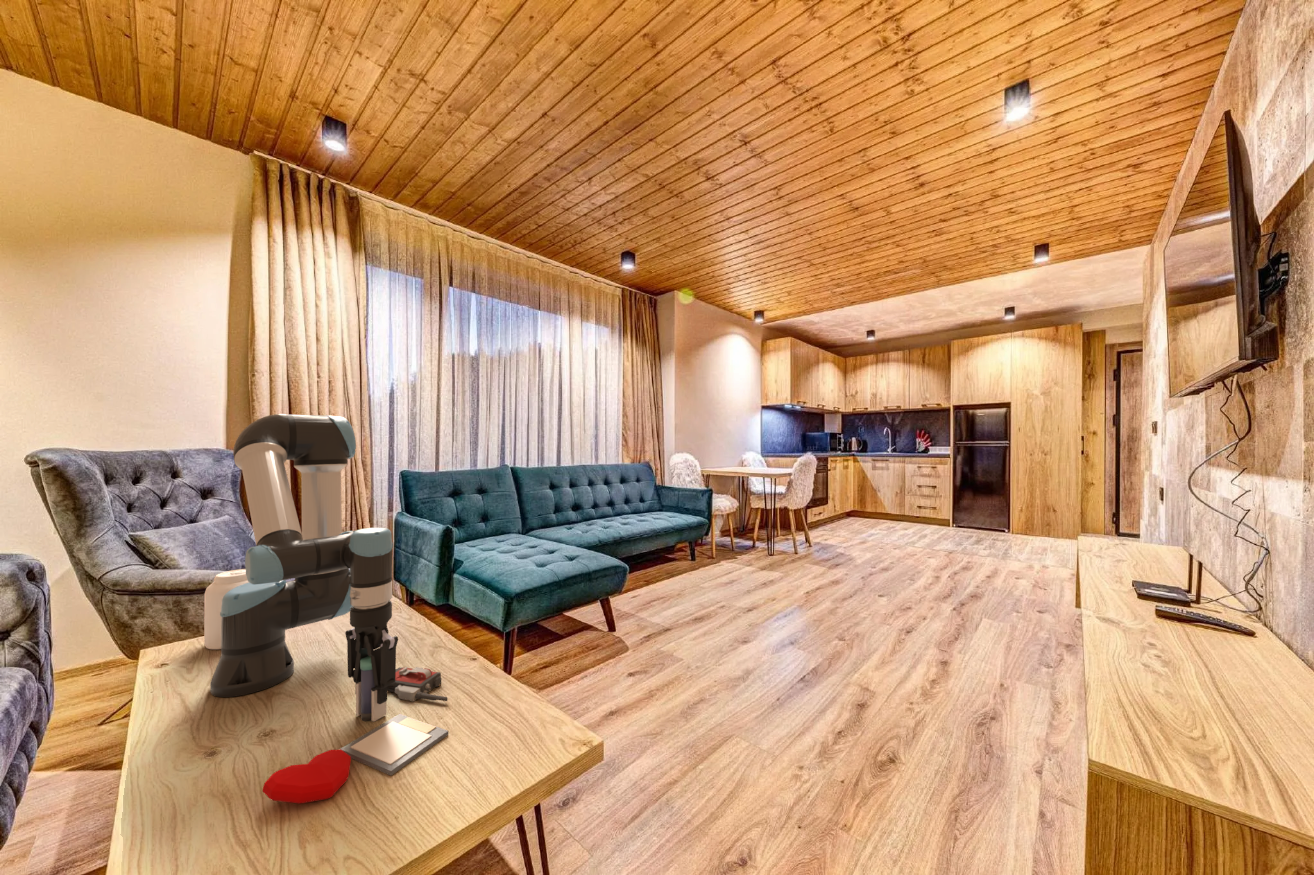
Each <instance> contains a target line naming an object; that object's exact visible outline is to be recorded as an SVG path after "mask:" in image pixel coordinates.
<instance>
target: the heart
mask: <svg viewBox="0 0 1314 875" xmlns="http://www.w3.org/2000/svg"><path fill="white" fill-rule="evenodd" d="M351 763H352V759H351V756H349V755H348V754H347V753H345V752H344V751H343V750H341V748H339V749H329V750H327V751H324V752H322V753H319V754H317V755H316V756H314V757H312V759H310V761H309V762H307V763H302V764H291V765H289V766H286V767H283V768H281V769H279V770H276V771H275V772H273V773H272V774H271V775H270V777H268V779H266V781H265V782H264V784H263V786H262V793H263V794H265V795H266V796H267V798H268V799H269V800H271V801H275V802H284V803H293V804H299V805H300V804H306V803H312V802H317V801H323V800H328V799H330V798H332V797H333V796H334V795H335V794H336V792H338V791H339V789H340V788H342V786H343V785H344V784H345V783H346V782H347V781H348V778H349V776H350V769H351Z"/></svg>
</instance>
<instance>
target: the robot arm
mask: <svg viewBox="0 0 1314 875" xmlns="http://www.w3.org/2000/svg"><path fill="white" fill-rule="evenodd" d="M356 449H357V441H356V435H355V432H354V428H353V426H352V425H351V423H350V421H349V420H348V419H347V418H345V417H343V416H338V415H337V416H335V415H324V414H323V415H322V414H321V415H319V414H317V415H313V414H286V413H277V414H270V415H265V416H263V417H260V418H258V419H257V420H254V421H252V422H251V423H250V424H249V425H247V426H246V427H245V428H244V429H243V430H242V431H241V433H239V435H238V436H237V438H236V440H235V442H234V445H233V451H232V452H233V454H232V455H233V460H234V464H235V466H236V467H237V469H239V470H241V472H242V476H243V477H242V478H243V481H244V487H245V492H246V499H247V503H248V509H249V513H250V518H251V525H252V530H253V534H254V536H253V537H254V541H255V546H251V547H249V548H248V549H247V550H246V552H245V559H244V568H245V569H246V577H247V580H248V583H245V584H243V585H240V586H238V587H235V588H233V589H232V590H230V591H228V592H227V593H226V594H225V595H224V597H223V599H222V607H221V612H220V616H221V617H222V624H221V649H220V657H219V659H218V662H217V665H216V667H215V669H214V672H213V675H212V678H211V680H210V686H209V687H210V688H209V689H210V690H209V691H210V694H211V695H212V696H214V697H217V698H218V697H219V698H232V697H240V696H246V695H249V694H253V693H257V692H261V691H263V690H266V689H268V688H271V687H274V686H277V685H278V684H280V683H282V682H284V681H286V680H287V679H288V678H290V677H291V676H292V675H293V674H294V671H295V662H294V658H293V656H292V653H291V651H290V649H289V647H288V645H287V642H286V631H287V630H290V629H295V628H297V627H298V628H299V627H302V626H306V625H307V626H308V625H311V624H314V623H319V622H323V621H327V620H328V621H329V620H333V619H334V618H338V617H341V616H344V615H347V614H348V613H349V625H350V626H351V627H352V628H350V629H348V630H346V631H345V632H344V633H345V637H346V638H345V639H346V643H347V644H346V645H347V646H346V647H347V648H346V650H347V653H346V654H347V677H348V678H353V679H352V681H353V682H354V683H355V694H354V695H355V716H358V717H359V716H361V669H360V660H361V659H362V658H365V657H367V656H370V657H371V664H372V671H373V678H374V686H375V687H373V688H371V690H372V720H371V722H376V721H379V719H382V718H383V717H385V716H386V715H387V701H388V691H387V686H389V685H390V684H392V683H394V682H395V677H396V669H397V666H396V664H397V645H398V642H399V637H398V636H397V635H395V636H394V635H393V636H391V635H390V634H389V629H388V623H389V621H390V620H391V619H392V617H393V602H392V601H391V600H392V599H393V577H392V576H393V549H394V548H393V547H394V543H393V536H392V530H390V528H387V527H366V528H361V529H357V530H347V531H342V530H343V529H342V528H343V527H342V525H343V524H342V523H343V522H342V518H343V517H342V471H343V469H345V467H347V466H348V462H349V461H348V460H350V459H353V458H354V457H355V455H356ZM287 460H289V461H293V467H294V468H295V469H296V470H297V471H299V473H300V474H301V525H300V522H299V518H298V513H297V510H296V506H295V502H294V498H293V494H292V490H291V486H290V482H289V478H288V474H287V470H286V467H285V463H286V461H287ZM292 579H293V580H292ZM287 580H289V581H287Z"/></svg>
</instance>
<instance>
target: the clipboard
mask: <svg viewBox="0 0 1314 875" xmlns="http://www.w3.org/2000/svg"><path fill="white" fill-rule="evenodd" d="M447 736H449V730H447V729H444V728H442V727H439V726H435V725H433V724H430V723H427V722H426V721H425V722H424V721H421V720H419V719H416V718H413V717H410V716H408V715H405V714H402V713H397V715H395V716H393V717H391V718H390V719H388V720H386V721H385V722H383V723H382V724H380V725H378V726H376V727H374V728H373V729H371V730H370V731H368V732H366V733H364V734H363V735H361V736H359V737H357V738H356V739H355V740H352V741H351V742H349V743H348V744H346V745H344V746H343V747H340V749H341V750H343V751H344V752H345V753H347V754H348V755H349V756H351V760H354V761H356V762H358V763H360V764H361V763H362V764H363V765H366V766H368V767H370V768H373V769H375V770H377V771H379V772H381V773H384V774H386V775H389V776H392V775H394V774H396V773H397V772H398V771H400V770H401V769H403V768H404V767H406V766H407V765H409V764H410V763H411V762H412V761H414V760H416V759H417V758H418V757H419V756H421V755H423V753H425V752H426V751H428V750H429V749H431V748H432V747H433V746H435V745H437V744H438V743H439V742H440V741H441V740H443V739H445V738H446V737H447Z"/></svg>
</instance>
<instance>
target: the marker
mask: <svg viewBox="0 0 1314 875" xmlns="http://www.w3.org/2000/svg"><path fill="white" fill-rule="evenodd" d="M360 669H361V715H360V720H361V721H362V722H369V721H371V722H372V690H371V688H373V687H375V686H374V678H373V671H372V664H371V657H370V656H367V657H365V658H362V659H361V660H360Z"/></svg>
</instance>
